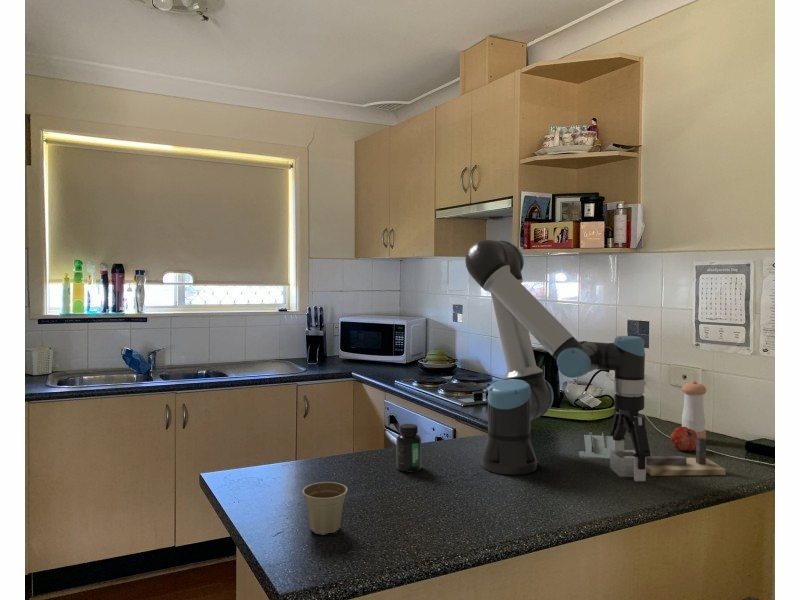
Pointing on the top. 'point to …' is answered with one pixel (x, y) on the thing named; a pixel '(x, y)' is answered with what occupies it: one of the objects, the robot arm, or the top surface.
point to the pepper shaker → (694, 408)
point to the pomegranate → (684, 439)
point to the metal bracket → (597, 446)
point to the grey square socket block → (622, 462)
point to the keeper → (684, 463)
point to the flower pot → (325, 505)
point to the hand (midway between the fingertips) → (628, 472)
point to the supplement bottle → (408, 448)
